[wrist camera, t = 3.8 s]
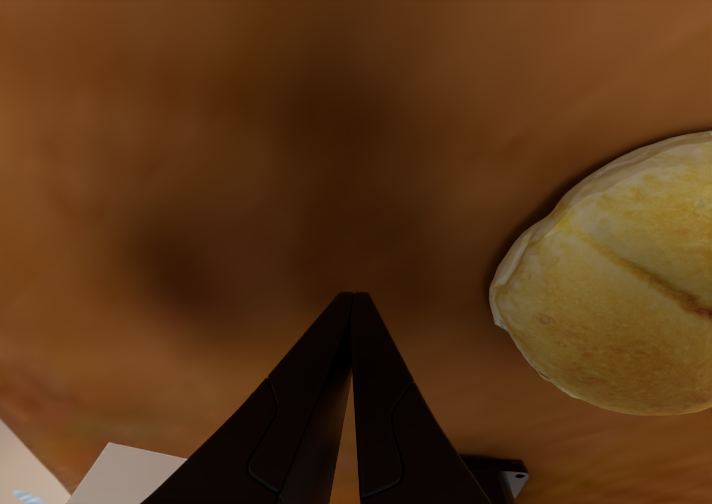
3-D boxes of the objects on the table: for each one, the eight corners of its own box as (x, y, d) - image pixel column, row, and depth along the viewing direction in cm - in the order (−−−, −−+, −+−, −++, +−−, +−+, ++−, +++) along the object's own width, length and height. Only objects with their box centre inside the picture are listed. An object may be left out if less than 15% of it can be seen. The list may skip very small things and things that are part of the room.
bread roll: (853, 232, 8) (1172, 335, 5) (573, 371, 13) (646, 480, 9) (731, 29, 6) (1145, -29, 3) (440, 278, 10) (470, 374, 7)
